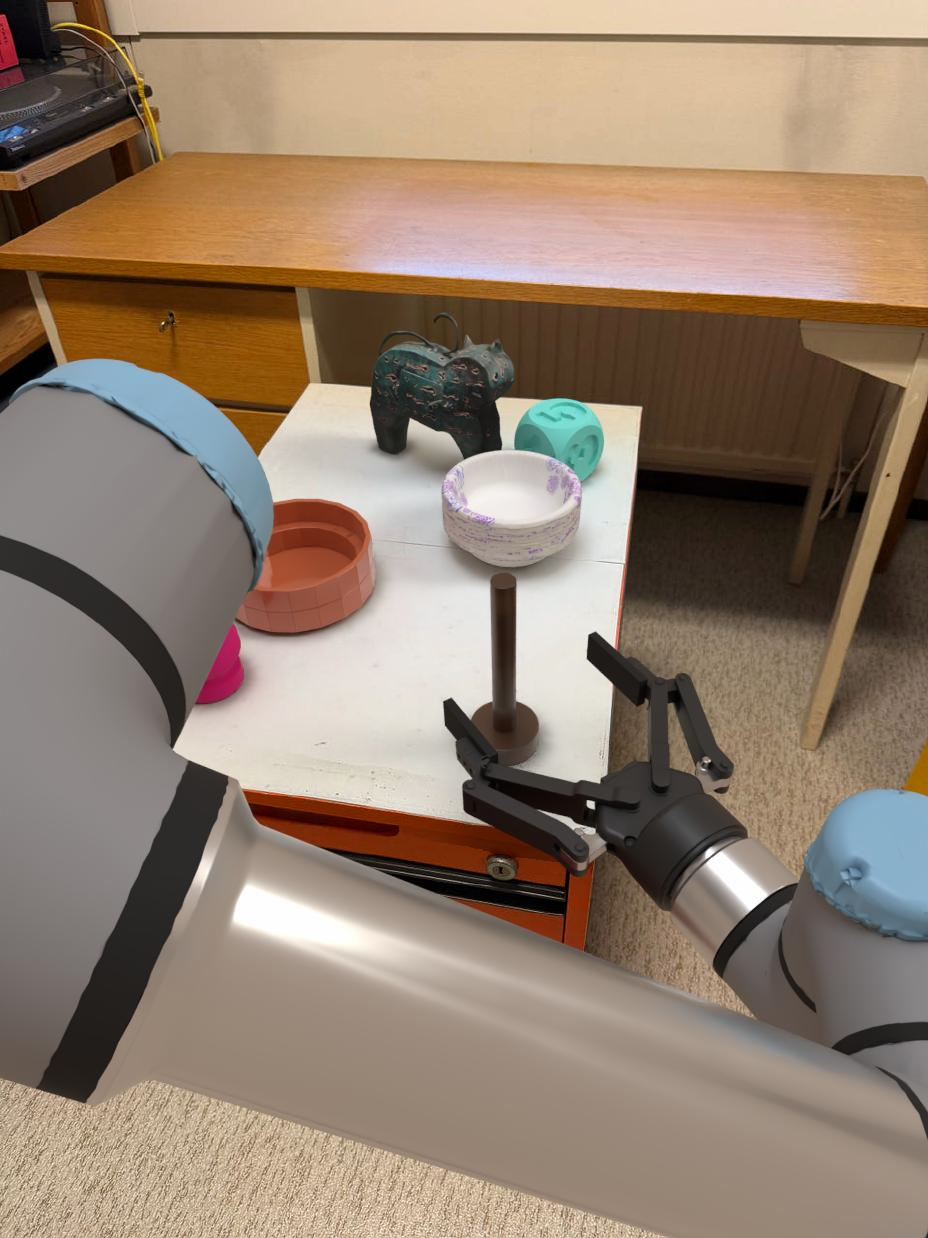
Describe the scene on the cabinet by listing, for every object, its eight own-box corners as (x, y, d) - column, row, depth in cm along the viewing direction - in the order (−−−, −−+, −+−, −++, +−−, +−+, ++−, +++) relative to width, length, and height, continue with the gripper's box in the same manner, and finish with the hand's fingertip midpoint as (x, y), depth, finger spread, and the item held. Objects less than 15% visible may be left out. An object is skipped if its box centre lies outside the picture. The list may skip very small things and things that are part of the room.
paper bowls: (607, 547, 99) (612, 487, 93) (501, 603, 92) (501, 541, 87) (519, 490, 108) (519, 433, 103) (418, 537, 101) (413, 478, 96)
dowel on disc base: (480, 772, 75) (474, 612, 63) (463, 722, 80) (454, 564, 68) (547, 757, 76) (554, 597, 64) (526, 708, 81) (529, 550, 69)
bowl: (229, 650, 88) (216, 604, 84) (222, 556, 100) (210, 512, 96) (388, 619, 91) (382, 573, 87) (362, 532, 103) (357, 488, 99)
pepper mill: (157, 696, 83) (91, 522, 70) (201, 647, 88) (147, 476, 75) (221, 716, 81) (165, 539, 68) (263, 664, 86) (218, 491, 73)
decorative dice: (512, 469, 112) (513, 412, 106) (558, 447, 115) (560, 391, 110) (556, 495, 107) (559, 436, 102) (602, 471, 111) (607, 413, 105)
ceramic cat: (517, 475, 111) (518, 319, 98) (488, 499, 107) (485, 341, 94) (395, 433, 120) (380, 286, 107) (364, 454, 116) (345, 304, 103)
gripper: (546, 1006, 54) (386, 774, 68) (833, 823, 63) (640, 652, 77) (550, 943, 49) (376, 707, 63) (860, 754, 58) (649, 585, 72)
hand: (521, 676), depth 70 cm, fingers open, 13 cm apart
